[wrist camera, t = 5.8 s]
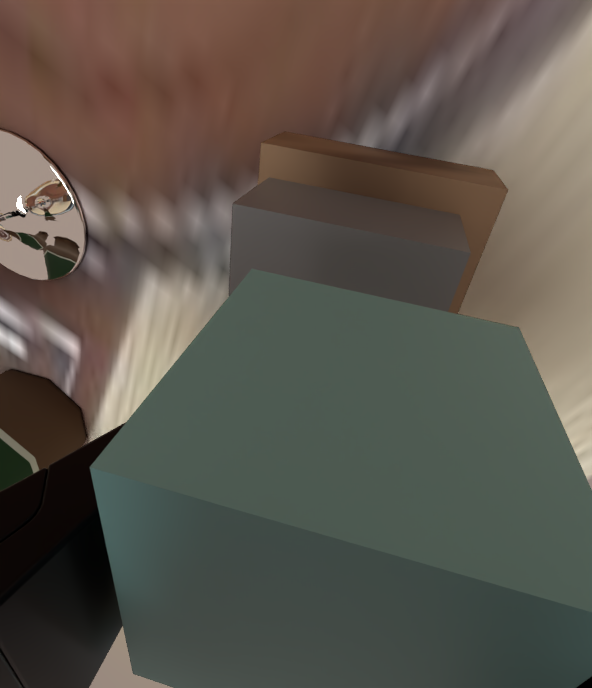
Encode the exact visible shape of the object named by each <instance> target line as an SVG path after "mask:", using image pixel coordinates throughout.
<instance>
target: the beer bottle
mask: <svg viewBox="0 0 592 688" xmlns="http://www.w3.org/2000/svg"><path fill="white" fill-rule="evenodd" d="M85 440H86V432H85V428H84V424H83V419H82V415H81V411H80V408H79V407H78V406H77V405H76V404H75V403H74V402H73V401H72V400H70V399H69V398H68V397H67V396H66V395H65V394H64V393H63V392H62V391H61V390H60V389H58V388H57V387H56V386H55V385H54V384H53V383H52V382H51V381H50V380H48V379H45V378H41V377H37V376H34V375H30V374H26V373H23V372H19V371H15V370H8V371H5V372H4V373H2V374H0V491H2V490H4V489H6V488H7V487H9V486H11V485H13V484H15V483H17V482H19V481H21V480H23V479H24V478H26V477H28V476H30V475H32V474H33V473H35V472H37V471H39V470H41V469H42V468H47V469H48V466H49V465H50V464H52V463H54V462H55V461H57V460H59V459H61V458H63V457H64V456H66V455H68V454H70V453H72V452H73V451H75V450H77V449H79V448H80V447H81V446H82V445H83V443H84V442H85Z"/></svg>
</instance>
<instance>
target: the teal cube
mask: <svg viewBox="0 0 592 688" xmlns="http://www.w3.org/2000/svg"><path fill="white" fill-rule="evenodd" d="M90 472H91V476H92V481H93V486H94V491H95V495H96V500H97V505H98V510H99V514H100V519H101V524H102V529H103V533H104V538H105V543H106V548H107V552H108V557H109V562H110V567H111V571H112V576H113V581H114V586H115V590H116V595H117V600H118V605H119V609H120V614H121V619H122V624H123V628H124V633H125V638H126V643H127V647H128V652H129V656H130V662H131V666H132V671H133V674H135V675H138V676H141V677H144V678H147V679H150V680H153V681H156V682H159V683H162V684H165V685H167V686H170V687H173V688H576V687H578V686H579V685H580V684H582V683H583V682H584V681H586V680H587V679H589V678H590V677H591V676H592V490H591V488H590V485H589V483H588V481H587V479H586V476H585V474H584V472H583V470H582V467H581V465H580V463H579V461H578V459H577V456H576V454H575V452H574V450H573V447H572V445H571V443H570V441H569V438H568V436H567V434H566V432H565V429H564V427H563V425H562V423H561V420H560V418H559V416H558V414H557V412H556V409H555V407H554V405H553V403H552V400H551V398H550V396H549V394H548V391H547V389H546V387H545V385H544V382H543V380H542V378H541V376H540V373H539V371H538V369H537V367H536V365H535V362H534V360H533V358H532V356H531V353H530V351H529V349H528V347H527V344H526V342H525V340H524V338H523V335H522V333H521V331H520V329H519V328H518V327H514V326H509V325H505V324H500V323H496V322H491V321H487V320H482V319H478V318H473V317H469V316H464V315H459V314H455V313H450V312H446V311H441V310H437V309H432V308H428V307H423V306H419V305H414V304H410V303H405V302H401V301H396V300H392V299H387V298H383V297H378V296H374V295H369V294H364V293H360V292H355V291H351V290H346V289H342V288H337V287H333V286H328V285H324V284H319V283H315V282H310V281H306V280H301V279H297V278H292V277H288V276H283V275H278V274H274V273H269V272H265V271H260V270H256V269H251V270H250V272H249V273H248V274H247V275H246V277H245V278H244V279H243V280H242V281H241V283H240V284H239V285H238V286H237V288H236V289H235V290H234V291H233V292H232V294H231V295H230V296H229V297H228V299H227V300H226V301H225V302H224V303H223V305H222V306H221V307H220V308H219V310H218V311H217V312H216V313H215V314H214V316H213V317H212V318H211V319H210V321H209V322H208V323H207V324H206V325H205V327H204V328H203V329H202V330H201V332H200V333H199V334H198V335H197V336H196V338H195V339H194V340H193V341H192V343H191V344H190V345H189V346H188V347H187V349H186V350H185V351H184V352H183V354H182V355H181V356H180V357H179V359H178V360H177V361H176V362H175V363H174V365H173V366H172V367H171V368H170V370H169V371H168V372H167V373H166V374H165V376H164V377H163V378H162V379H161V381H160V382H159V383H158V384H157V385H156V387H155V388H154V389H153V390H152V392H151V393H150V394H149V395H148V396H147V398H146V399H145V400H144V401H143V403H142V404H141V405H140V406H139V407H138V409H137V410H136V411H135V412H134V414H133V415H132V416H131V417H130V418H129V420H128V421H127V422H126V423H125V425H124V426H123V427H122V428H121V429H120V431H119V432H118V433H117V434H116V436H115V437H114V438H113V439H112V440H111V442H110V443H109V444H108V445H107V447H106V448H105V449H104V450H103V451H102V453H101V454H100V455H99V456H98V458H97V459H96V460H95V461H94V462H93V464H92V465H91V466H90Z"/></svg>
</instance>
